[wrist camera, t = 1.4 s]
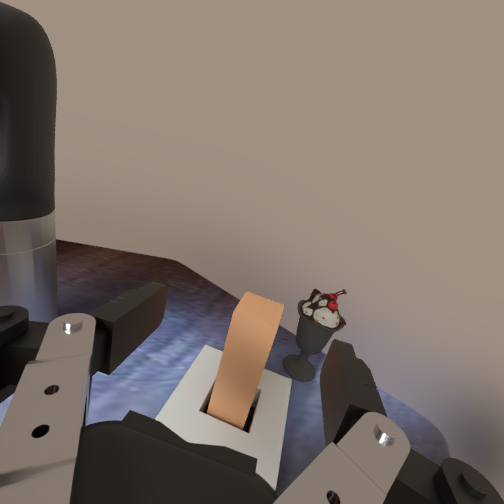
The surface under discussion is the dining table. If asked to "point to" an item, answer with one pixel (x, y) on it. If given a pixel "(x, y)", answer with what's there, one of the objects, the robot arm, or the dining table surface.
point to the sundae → (313, 331)
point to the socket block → (220, 433)
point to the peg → (244, 358)
